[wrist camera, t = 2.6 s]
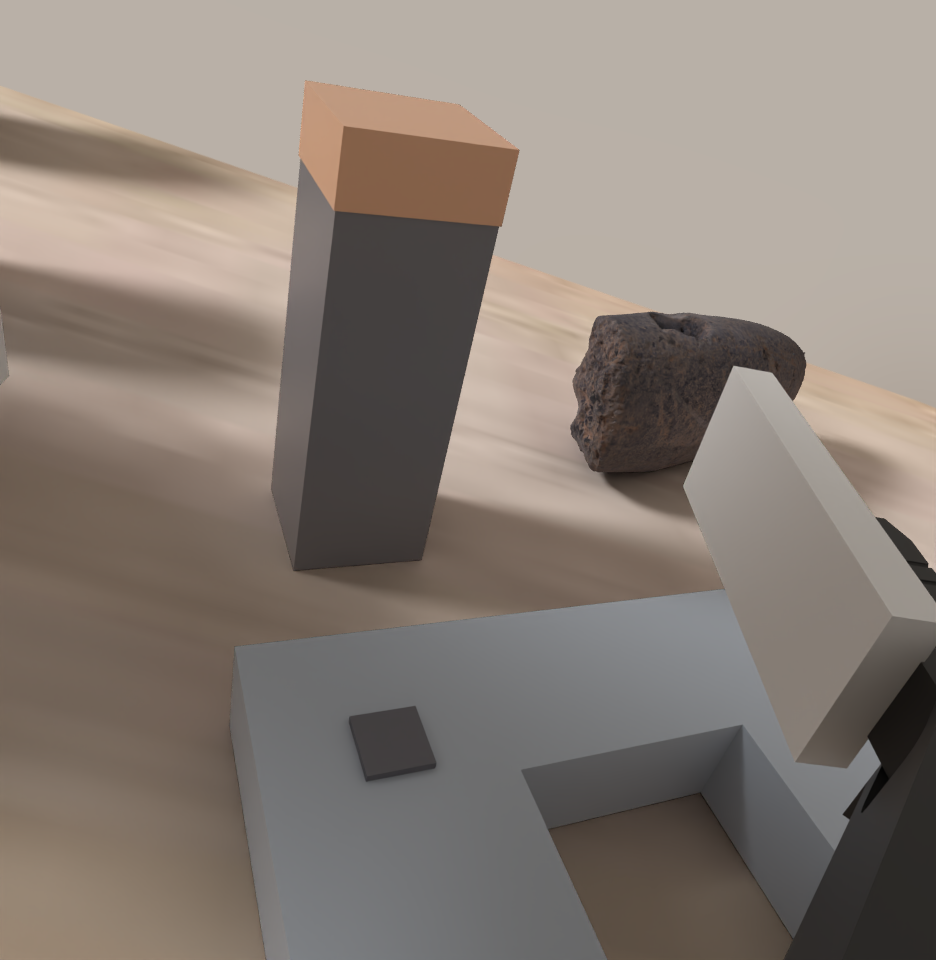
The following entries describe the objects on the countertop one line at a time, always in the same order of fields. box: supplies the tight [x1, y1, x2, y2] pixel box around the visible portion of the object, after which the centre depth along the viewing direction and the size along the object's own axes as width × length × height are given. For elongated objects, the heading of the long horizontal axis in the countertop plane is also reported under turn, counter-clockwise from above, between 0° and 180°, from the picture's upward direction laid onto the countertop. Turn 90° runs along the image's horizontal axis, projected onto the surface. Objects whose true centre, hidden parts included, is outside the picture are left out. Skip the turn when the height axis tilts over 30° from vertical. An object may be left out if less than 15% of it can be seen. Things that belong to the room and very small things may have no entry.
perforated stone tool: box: [571, 312, 806, 472], centre depth 37 cm, size 15×5×7 cm, turn 120°
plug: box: [271, 81, 519, 571], centre depth 25 cm, size 5×5×14 cm
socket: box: [230, 589, 881, 960], centre depth 18 cm, size 18×16×3 cm
